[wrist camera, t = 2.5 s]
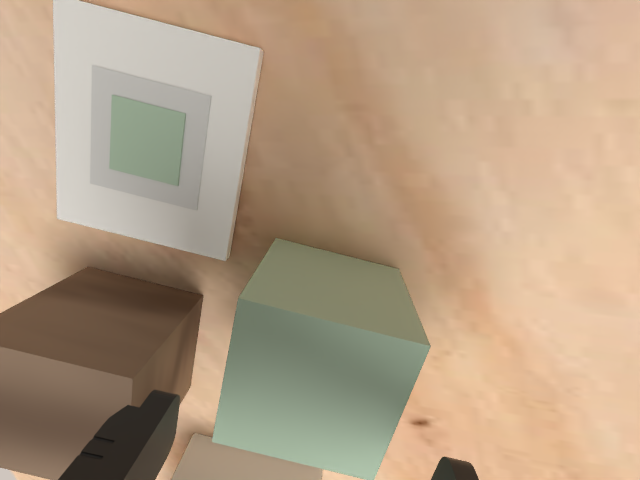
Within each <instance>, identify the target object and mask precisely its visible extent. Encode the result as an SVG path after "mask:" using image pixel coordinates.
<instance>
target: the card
mask: <svg viewBox="0 0 640 480" xmlns="http://www.w3.org/2000/svg"><path fill="white" fill-rule="evenodd" d="M53 27H54V81H55V135H56V189H57V219H60V220H64V221H68V222H72V223H76V224H80V225H84V226H88V227H92V228H96V229H100V230H104V231H108V232H112V233H116V234H120V235H124V236H127V237H131V238H135V239H139V240H143V241H147V242H151V243H155V244H159V245H163V246H167V247H171V248H175V249H179V250H183V251H187V252H191V253H195V254H199V255H203V256H207V257H211V258H215V259H219V260H223V261H226V260H227V259H228V258H229V257H230V252H231V246H232V240H233V234H234V228H235V222H236V216H237V210H238V204H239V198H240V192H241V186H242V180H243V174H244V168H245V162H246V156H247V150H248V144H249V138H250V132H251V126H252V120H253V114H254V108H255V102H256V96H257V90H258V84H259V78H260V72H261V66H262V60H263V54H264V51H263V50H262V49H261V48H258V47H254V46H250V45H246V44H243V43H239V42H235V41H231V40H227V39H224V38H220V37H216V36H212V35H208V34H205V33H201V32H197V31H193V30H189V29H185V28H182V27H178V26H174V25H170V24H166V23H163V22H159V21H155V20H151V19H147V18H144V17H140V16H136V15H132V14H128V13H125V12H121V11H117V10H113V9H109V8H106V7H102V6H98V5H94V4H90V3H87V2H83V1H79V0H53Z"/></svg>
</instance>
